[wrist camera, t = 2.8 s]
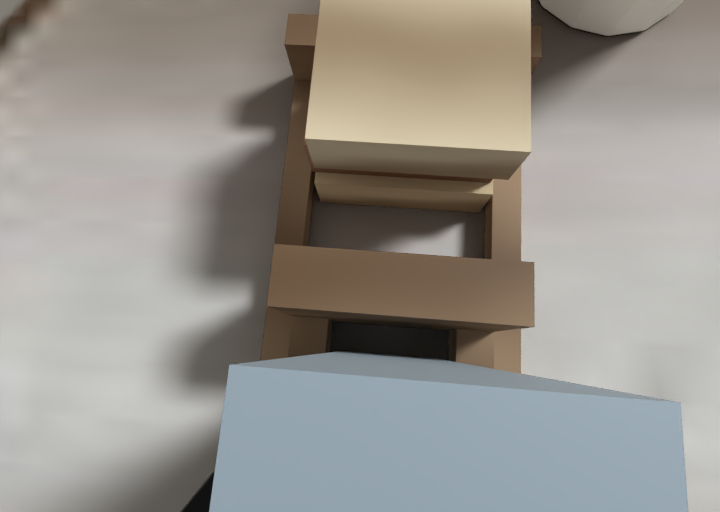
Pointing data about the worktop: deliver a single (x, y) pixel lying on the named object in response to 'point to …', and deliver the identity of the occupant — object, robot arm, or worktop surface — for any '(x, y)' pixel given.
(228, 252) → the worktop surface
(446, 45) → the offcut stack
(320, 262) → the rack
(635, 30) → the white cup
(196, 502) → the robot arm
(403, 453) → the grey-blue rectangular block
